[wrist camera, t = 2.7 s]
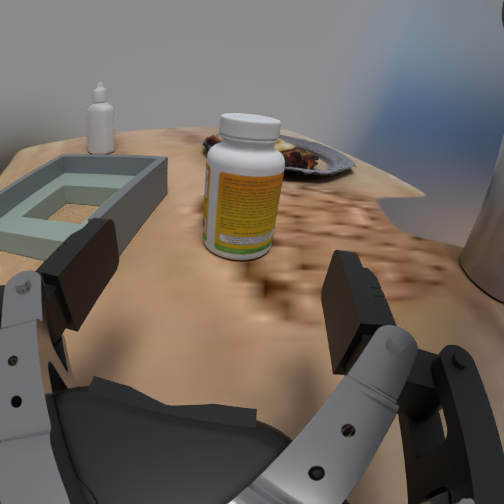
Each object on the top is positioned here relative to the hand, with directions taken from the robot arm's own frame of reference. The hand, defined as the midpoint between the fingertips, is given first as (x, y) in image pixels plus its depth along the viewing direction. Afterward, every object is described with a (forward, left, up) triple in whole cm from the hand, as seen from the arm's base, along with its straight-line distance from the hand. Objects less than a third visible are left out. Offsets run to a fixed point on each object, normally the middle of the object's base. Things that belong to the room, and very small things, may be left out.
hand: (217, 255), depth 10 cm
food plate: (-23, -32, -7) cm, 40 cm away
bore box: (+7, -17, -6) cm, 20 cm away
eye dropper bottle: (+5, -42, -6) cm, 43 cm away
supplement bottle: (-6, -10, -6) cm, 13 cm away
